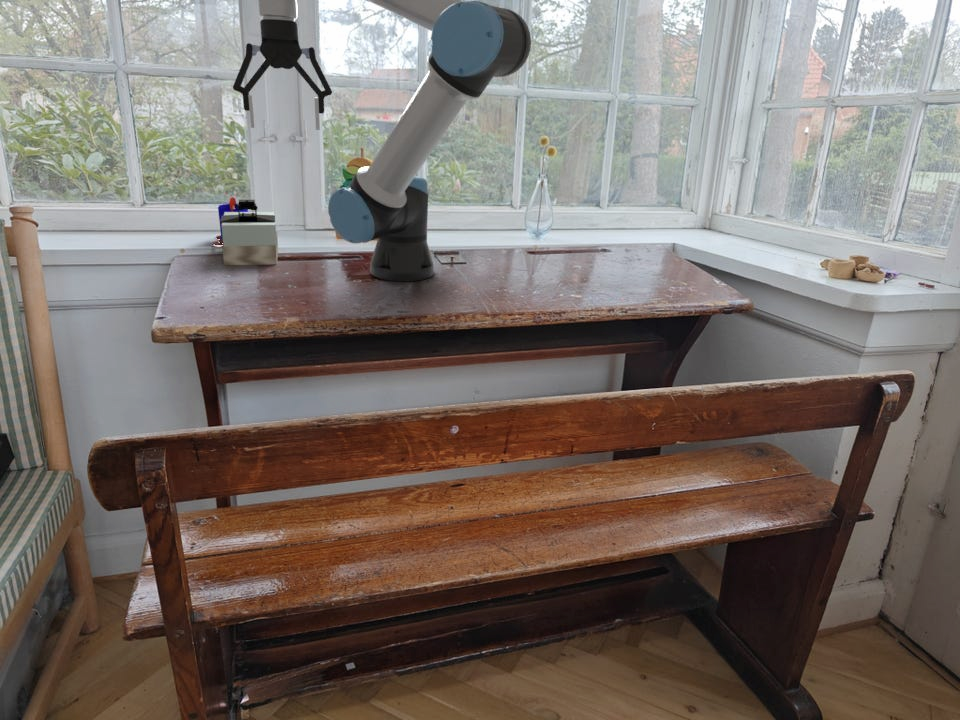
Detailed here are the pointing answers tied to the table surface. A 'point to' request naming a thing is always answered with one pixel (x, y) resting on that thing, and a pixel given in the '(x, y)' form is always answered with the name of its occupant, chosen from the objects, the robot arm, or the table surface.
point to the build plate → (247, 214)
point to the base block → (250, 255)
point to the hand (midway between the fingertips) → (285, 128)
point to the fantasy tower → (221, 209)
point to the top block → (249, 232)
